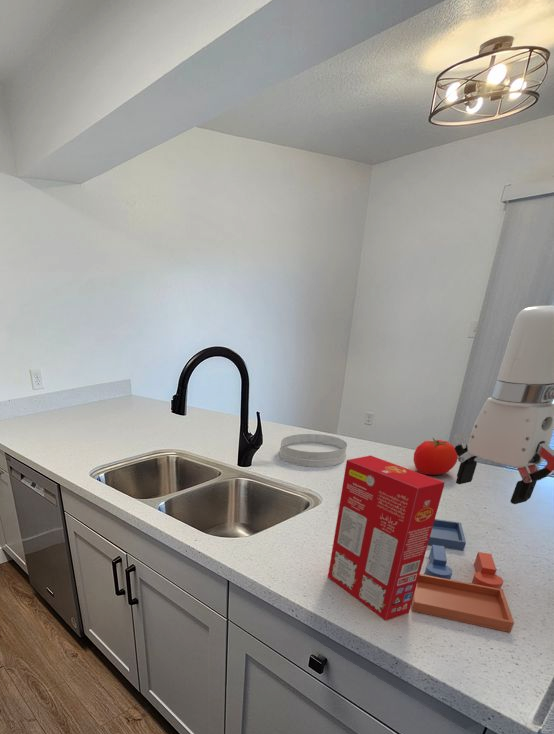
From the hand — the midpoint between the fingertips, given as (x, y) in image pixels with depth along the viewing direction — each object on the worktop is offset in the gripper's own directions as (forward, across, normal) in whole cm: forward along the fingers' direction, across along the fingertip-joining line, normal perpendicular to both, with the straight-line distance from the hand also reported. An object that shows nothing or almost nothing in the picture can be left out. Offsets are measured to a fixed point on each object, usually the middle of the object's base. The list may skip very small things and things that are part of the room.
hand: (489, 492), depth 76 cm
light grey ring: (+19, +74, -23) cm, 80 cm away
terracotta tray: (+19, -5, +7) cm, 21 cm away
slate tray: (+19, +16, -10) cm, 27 cm away
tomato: (+19, +44, -44) cm, 65 cm away
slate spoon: (+19, +5, +1) cm, 19 cm away
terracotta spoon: (+19, -1, -5) cm, 19 cm away
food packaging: (+19, +4, +20) cm, 27 cm away
